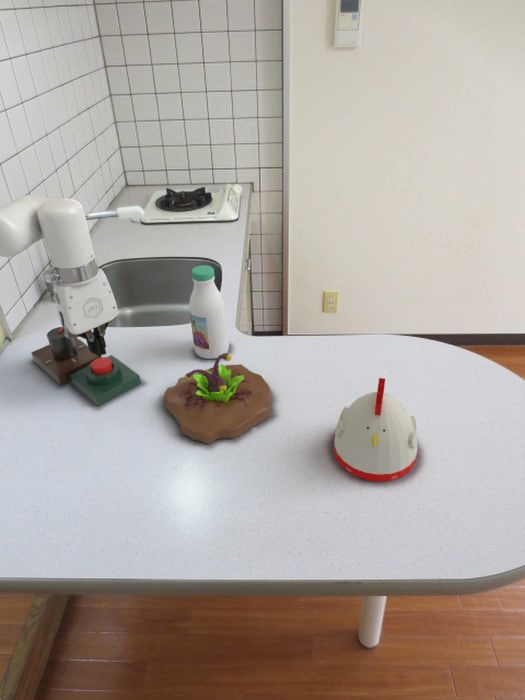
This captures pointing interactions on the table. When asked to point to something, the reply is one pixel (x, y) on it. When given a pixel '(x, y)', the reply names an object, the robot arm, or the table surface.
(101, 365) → the button
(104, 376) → the button box
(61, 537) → the table surface
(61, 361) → the panel
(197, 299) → the milk bottle
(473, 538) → the table surface
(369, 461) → the kitchen timer
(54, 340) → the lock knob
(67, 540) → the table surface
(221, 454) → the table surface
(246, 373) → the plant
